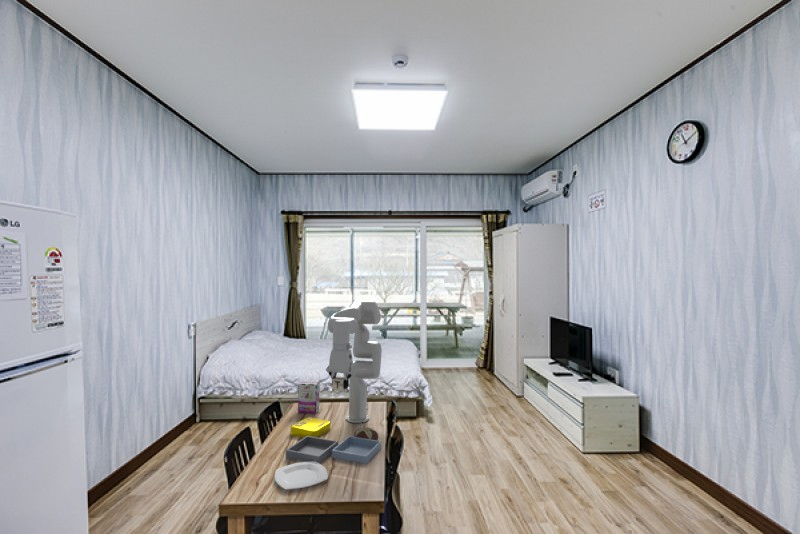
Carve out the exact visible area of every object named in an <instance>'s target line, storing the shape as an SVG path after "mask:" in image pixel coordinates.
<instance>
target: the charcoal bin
mask: <svg viewBox="0 0 800 534" xmlns="http://www.w3.org/2000/svg"><path fill="white" fill-rule="evenodd" d="M338 445H339V441H337V440H334V439H333V440H332V439H326V438H322V437H321V438H320V437H318V438H316V437H311V436H306V437H305V438H302V439H300V440H299V441H298V442H295V443H294V444H293V445H292V446H290V447H289V448H286V449H285V459H286V460H288V461H289V460H290V461H294V462H295V461H296V462H297V461H302V462H309V461H316V462H318V463H319V464H321V463H322V462H323V461H324V460H326V459H327V458H328V457H329V456H331V455H332V450H333V449H334V448H335V447H336V446H338Z"/></svg>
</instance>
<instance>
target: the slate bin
mask: <svg viewBox="0 0 800 534" xmlns="http://www.w3.org/2000/svg"><path fill="white" fill-rule="evenodd" d="M381 449H382V441H381V440H370V439H364V438H358V437H354V436H351V435H348V436H347V437H346V438H345V439H343V441H341V442H340V443H338V446H336V447H335V448H334V449H333V450H332V453H331V458H333V459H337V460H343V461H347V462H348V461H349V462H352V463H359V464H363V465H364V464H365V465H367V464H368V463H369V461H371V460H372V458H373V457H375V455H376V454H377V453H378V452H379V451H380V450H381Z"/></svg>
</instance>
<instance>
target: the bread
mask: <svg viewBox="0 0 800 534" xmlns="http://www.w3.org/2000/svg"><path fill="white" fill-rule="evenodd" d="M353 437H358V438H364V439H370V440H376V441H378V438H379V433H378V432H377V431H376V430H374V428H373V427H372V428H371V427H368V426H367V427H364V428H362V427H360V428H358V429H356V430H355V431H354V434H353Z"/></svg>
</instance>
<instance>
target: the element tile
mask: <svg viewBox="0 0 800 534" xmlns="http://www.w3.org/2000/svg"><path fill="white" fill-rule="evenodd" d="M330 430H331V421H330V420H325V419H320V418H315V417H310V416H309V417H305V418H304V419H302V420H299V421H297V422H296V423H294V424H292V425H291V426H290V435H291V436H293V437H294V436H295V437H298V438H302V439H303V438H305V437H306V436H311V437H316V438H320V437H321V435H322V436H323V435H324V434H326V433H328V432H330Z"/></svg>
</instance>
